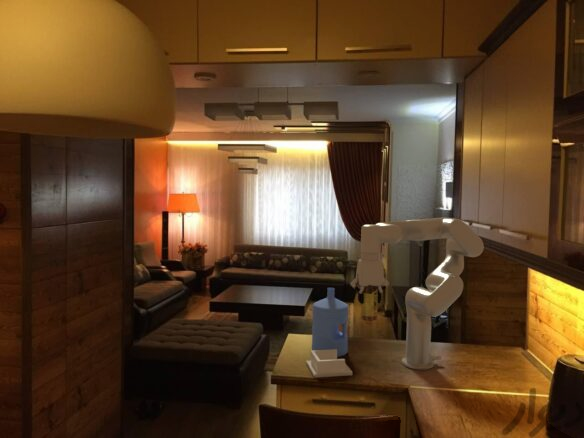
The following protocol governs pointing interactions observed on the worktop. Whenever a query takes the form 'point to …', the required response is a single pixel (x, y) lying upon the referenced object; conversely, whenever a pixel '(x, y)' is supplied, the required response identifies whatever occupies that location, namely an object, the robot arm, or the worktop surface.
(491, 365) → the worktop surface
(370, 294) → the sauce bottle
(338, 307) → the water jug
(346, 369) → the end holder
